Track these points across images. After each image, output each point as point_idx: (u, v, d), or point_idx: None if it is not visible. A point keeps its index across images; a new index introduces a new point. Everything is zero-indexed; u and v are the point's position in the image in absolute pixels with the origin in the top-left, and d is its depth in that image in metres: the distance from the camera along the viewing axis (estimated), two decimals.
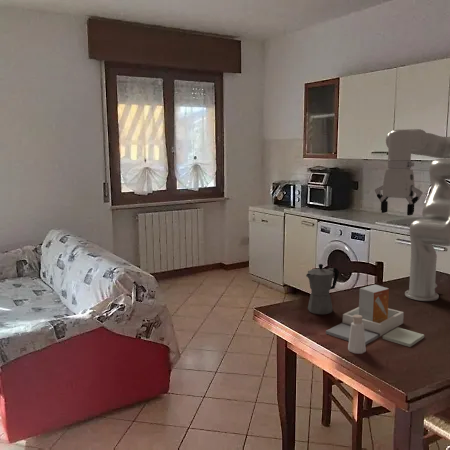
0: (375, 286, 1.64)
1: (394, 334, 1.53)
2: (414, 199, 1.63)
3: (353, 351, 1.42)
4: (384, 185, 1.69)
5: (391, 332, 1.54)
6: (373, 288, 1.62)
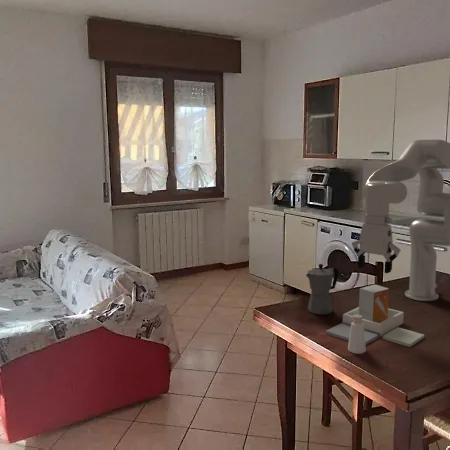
0: (375, 286, 1.64)
1: (394, 334, 1.53)
2: (392, 257, 1.54)
3: (353, 351, 1.42)
4: (361, 240, 1.60)
5: (391, 332, 1.54)
6: (373, 288, 1.62)
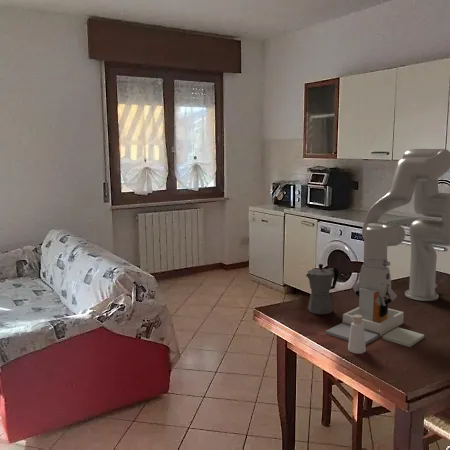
0: None
1: (394, 334, 1.53)
2: (387, 301, 1.58)
3: (353, 351, 1.42)
4: (360, 281, 1.63)
5: (391, 332, 1.54)
6: None
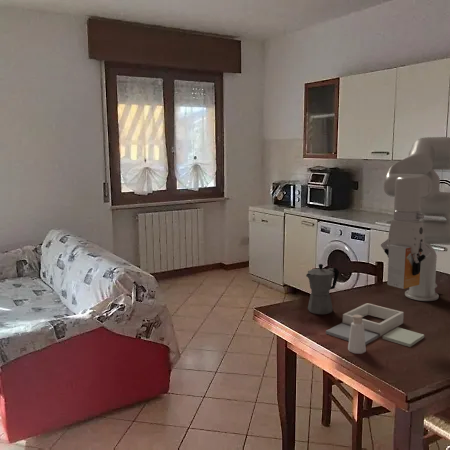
0: None
1: (394, 334, 1.53)
2: (420, 257, 1.44)
3: (353, 351, 1.42)
4: (390, 238, 1.49)
5: (391, 332, 1.54)
6: None
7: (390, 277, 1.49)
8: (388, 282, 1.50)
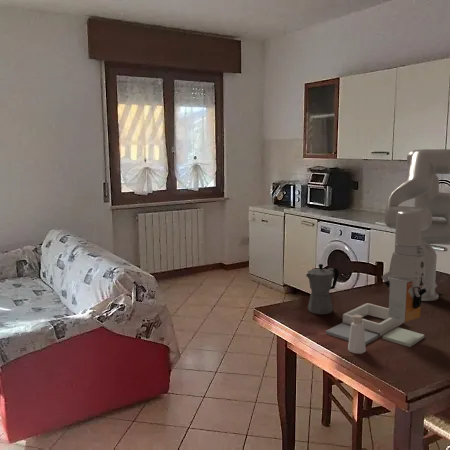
0: None
1: (394, 334, 1.53)
2: (421, 291, 1.45)
3: (353, 351, 1.42)
4: (391, 270, 1.50)
5: (391, 332, 1.54)
6: None
7: (391, 310, 1.50)
8: (389, 315, 1.51)
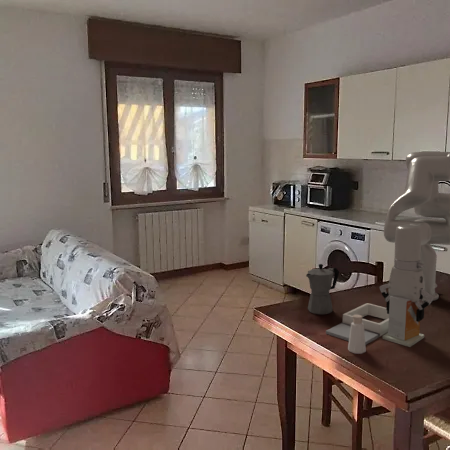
0: None
1: None
2: (424, 304, 1.45)
3: (353, 351, 1.42)
4: (390, 285, 1.51)
5: None
6: None
7: (391, 328, 1.51)
8: (389, 332, 1.52)
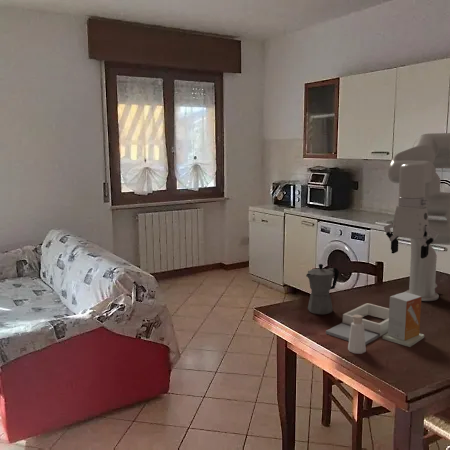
0: (406, 294, 1.52)
1: None
2: (428, 241, 1.46)
3: (353, 351, 1.42)
4: (394, 224, 1.52)
5: None
6: (404, 296, 1.50)
7: (391, 328, 1.51)
8: (389, 332, 1.52)
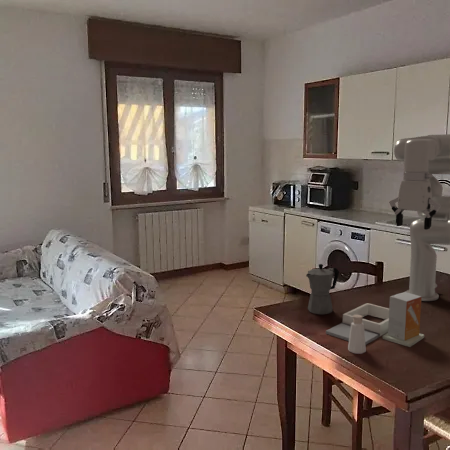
0: (406, 294, 1.52)
1: None
2: (432, 212, 1.55)
3: (353, 351, 1.42)
4: (399, 197, 1.61)
5: None
6: (404, 296, 1.50)
7: (391, 328, 1.51)
8: (389, 332, 1.52)
